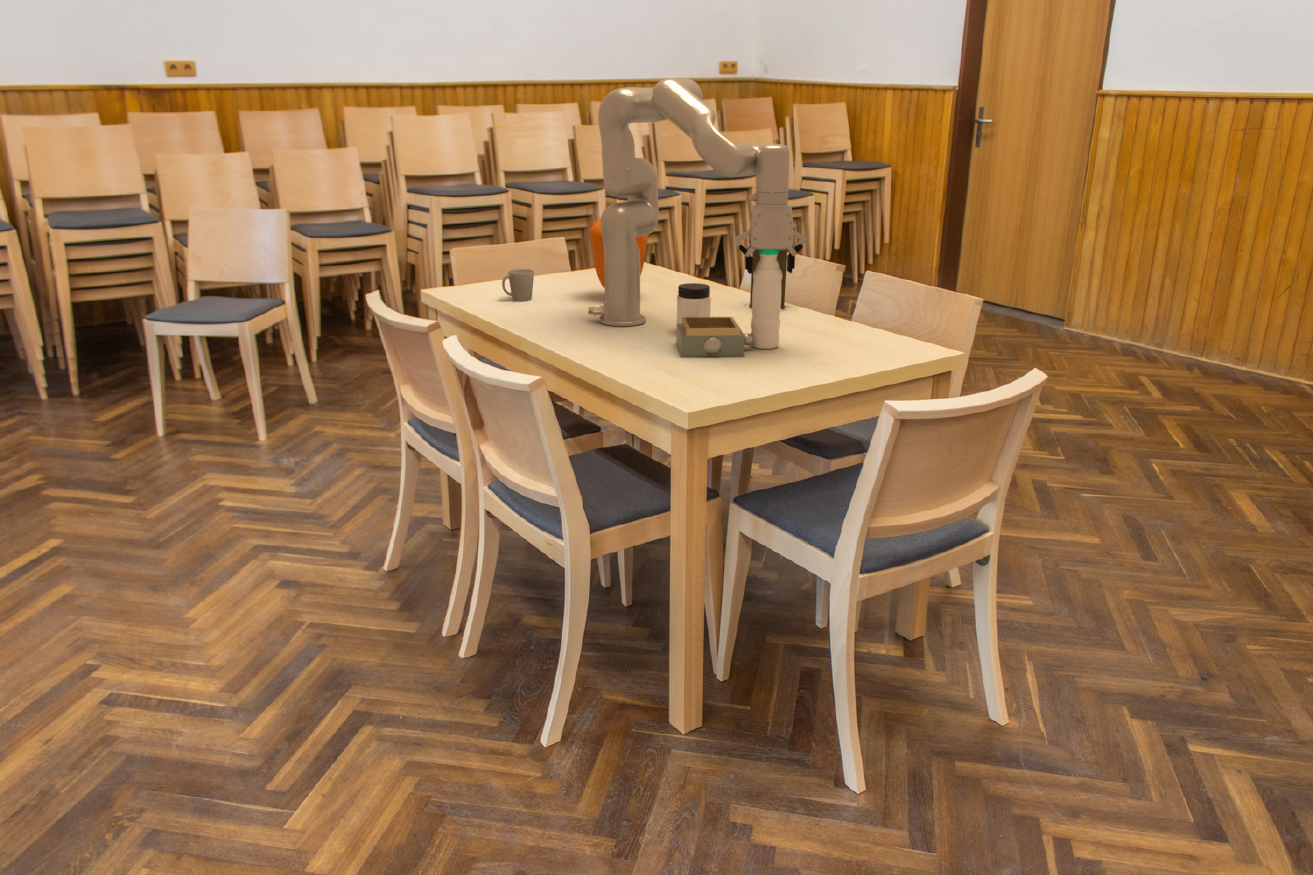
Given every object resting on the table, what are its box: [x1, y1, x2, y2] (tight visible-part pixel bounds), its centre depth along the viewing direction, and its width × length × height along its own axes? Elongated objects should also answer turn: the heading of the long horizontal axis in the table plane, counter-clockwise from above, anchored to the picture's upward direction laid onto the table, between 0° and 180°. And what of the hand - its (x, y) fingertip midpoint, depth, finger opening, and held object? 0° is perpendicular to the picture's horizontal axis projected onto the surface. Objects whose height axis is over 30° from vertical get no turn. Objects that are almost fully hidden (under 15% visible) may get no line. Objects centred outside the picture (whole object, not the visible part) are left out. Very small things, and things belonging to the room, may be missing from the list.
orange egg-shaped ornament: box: [589, 216, 649, 289], centre depth 288 cm, size 17×17×25 cm
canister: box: [749, 249, 788, 310], centre depth 280 cm, size 11×10×20 cm
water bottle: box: [750, 249, 782, 350], centre depth 235 cm, size 7×7×25 cm
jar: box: [676, 282, 712, 325], centre depth 251 cm, size 9×8×12 cm
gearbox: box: [675, 316, 754, 358], centre depth 234 cm, size 18×14×7 cm
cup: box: [501, 268, 535, 302], centre depth 288 cm, size 8×10×8 cm
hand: (769, 272), depth 233 cm, fingers open, 9 cm apart
